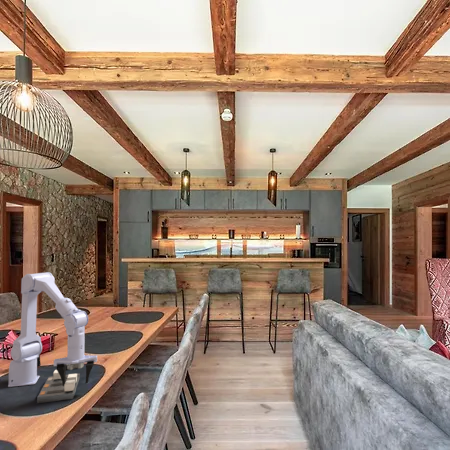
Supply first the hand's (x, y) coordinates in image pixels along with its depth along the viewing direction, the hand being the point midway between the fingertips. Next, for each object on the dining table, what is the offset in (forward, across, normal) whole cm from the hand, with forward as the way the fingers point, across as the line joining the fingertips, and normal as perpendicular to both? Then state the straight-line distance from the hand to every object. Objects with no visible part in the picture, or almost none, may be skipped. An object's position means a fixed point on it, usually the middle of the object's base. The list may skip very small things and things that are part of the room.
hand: (75, 383), depth 129 cm
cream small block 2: (+2, -2, 0) cm, 3 cm away
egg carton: (+5, -4, +33) cm, 33 cm away
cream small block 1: (+2, -2, +7) cm, 7 cm away
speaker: (+4, -24, +34) cm, 42 cm away
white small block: (+2, -8, +13) cm, 15 cm away
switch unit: (+4, -6, +6) cm, 10 cm away
